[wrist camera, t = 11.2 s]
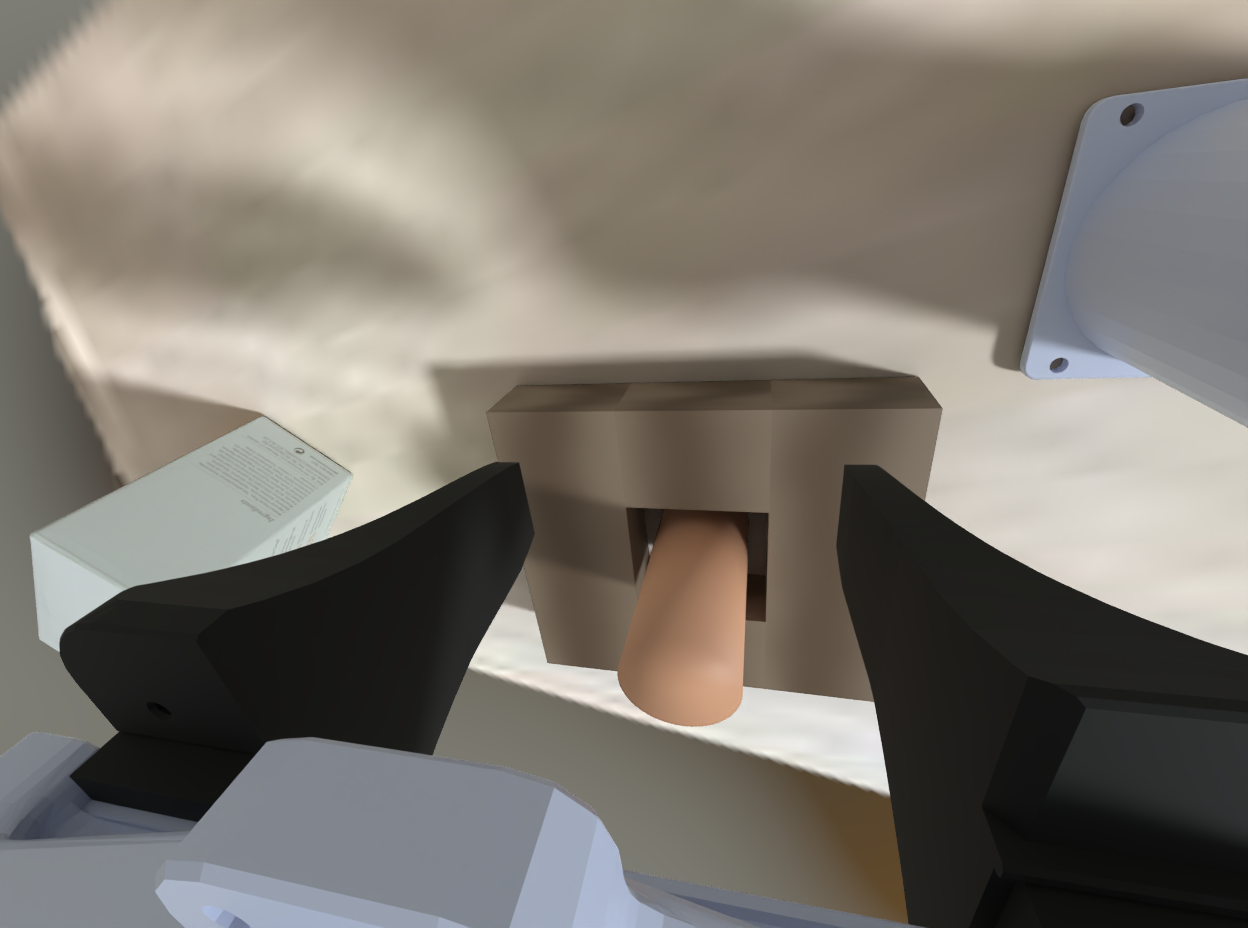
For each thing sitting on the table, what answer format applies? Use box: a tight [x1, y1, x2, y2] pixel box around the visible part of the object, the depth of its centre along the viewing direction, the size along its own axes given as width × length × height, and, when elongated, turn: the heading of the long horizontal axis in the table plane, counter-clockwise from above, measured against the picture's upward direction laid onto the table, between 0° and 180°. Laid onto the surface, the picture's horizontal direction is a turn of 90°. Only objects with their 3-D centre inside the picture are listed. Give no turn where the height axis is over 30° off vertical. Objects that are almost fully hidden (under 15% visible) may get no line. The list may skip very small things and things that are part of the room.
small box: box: [30, 416, 352, 652], centre depth 25 cm, size 8×6×10 cm
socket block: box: [486, 377, 943, 702], centre depth 23 cm, size 16×14×3 cm
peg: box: [618, 509, 749, 727], centre depth 21 cm, size 4×4×9 cm
